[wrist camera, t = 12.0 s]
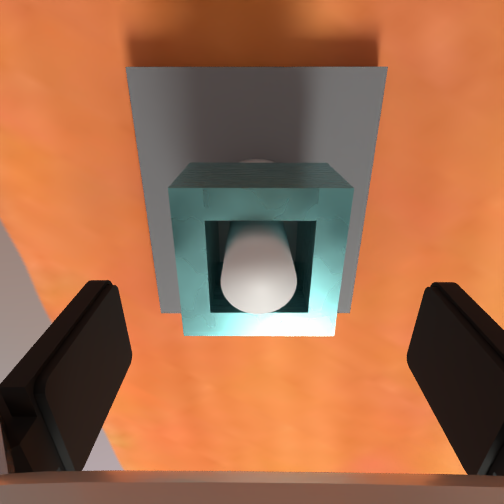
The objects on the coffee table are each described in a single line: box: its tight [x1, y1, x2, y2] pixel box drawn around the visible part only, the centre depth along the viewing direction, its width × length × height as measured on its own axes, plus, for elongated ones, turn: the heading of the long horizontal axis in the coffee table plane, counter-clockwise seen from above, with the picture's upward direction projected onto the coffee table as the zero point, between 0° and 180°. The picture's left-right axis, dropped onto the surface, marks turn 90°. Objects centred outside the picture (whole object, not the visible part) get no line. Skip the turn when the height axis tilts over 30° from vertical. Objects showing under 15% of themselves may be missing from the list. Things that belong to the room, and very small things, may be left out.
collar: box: [168, 162, 354, 336], centre depth 16 cm, size 7×7×5 cm
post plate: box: [126, 67, 388, 314], centre depth 18 cm, size 16×14×10 cm
